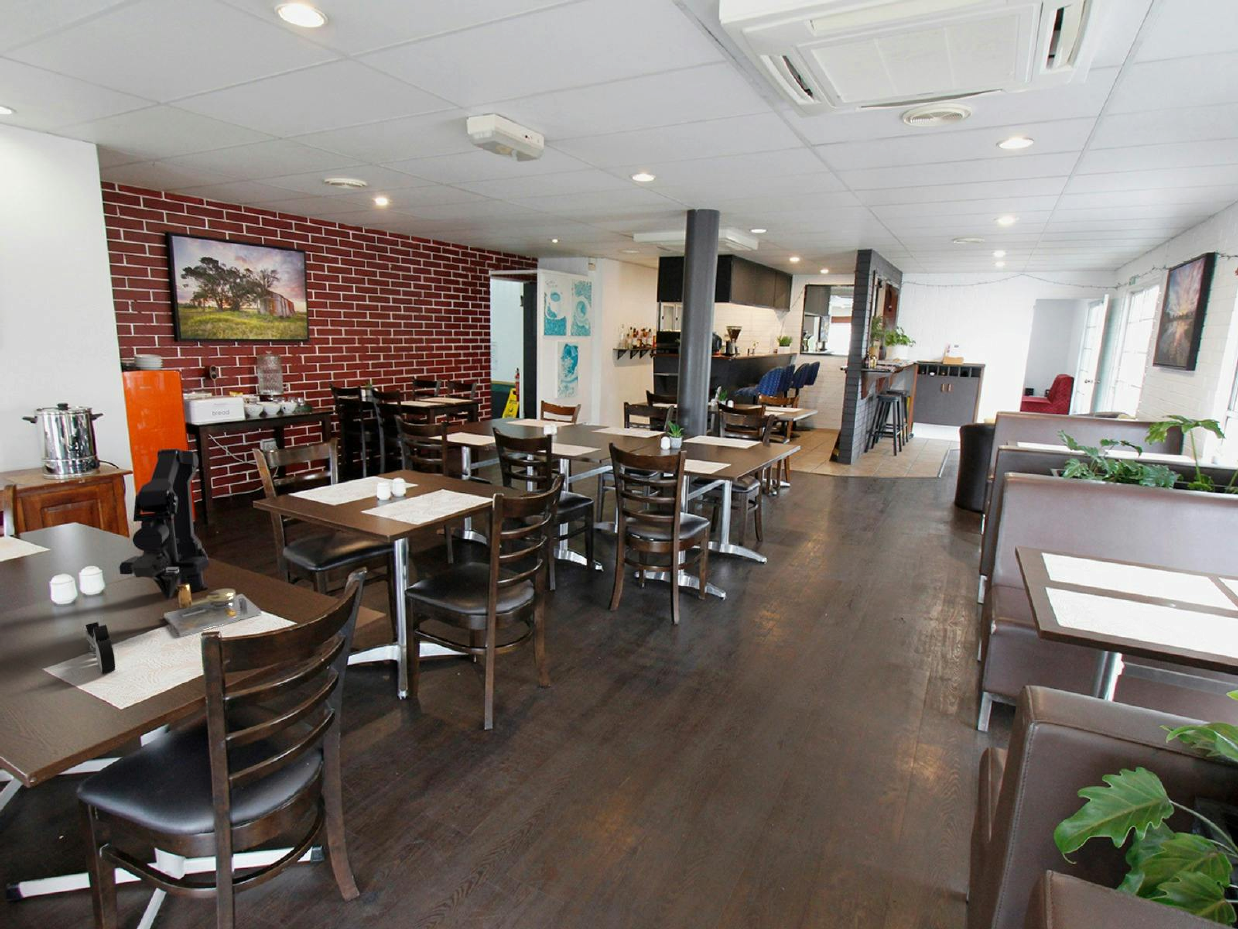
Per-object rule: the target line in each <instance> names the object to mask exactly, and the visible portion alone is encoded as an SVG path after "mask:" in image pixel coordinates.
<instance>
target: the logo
mask: <svg viewBox="0 0 1238 929" xmlns="http://www.w3.org/2000/svg"><path fill="white" fill-rule="evenodd" d="M107 626H108V625H107V624H104V625H103V624H102V625H99V621H95V622H91V623H88V624H85V629H86V630H85V635H86V639H87V642H88V643H89V649H90V651H91V652H92V653H93V655H94V656H95V657H96V662H97V665H98V668H99V670H100V672H101V674H105V673H108V672H112V671H115V670H116V659H115V653H114V648H113V644H112V641H111V639H110V636H109V630H108V627H107Z"/></svg>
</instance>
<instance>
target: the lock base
mask: <svg viewBox="0 0 1238 929" xmlns="http://www.w3.org/2000/svg"><path fill="white" fill-rule="evenodd" d="M259 614H261V615H262V609H260V608H259V607H258V606H257V605H255V604H254V603H253V602H252V601H251V600H250V599H249V598H247V597H246V595H244V594H243V593H240V594H236V596H235V597H234V598H233V599H230V600H228V601H224V602H217V603H212V602H205V603H201V604H197V605H193V606H190V607H186V608H181V609H177V610H173V611H169V612H165V613H163V615H164V619H165V621H167V623H168V624H169V626H171V628H172V627H173V628H172V629H173V630H174V631H175V633H176V634H177V636H179V638H182V636H183V637H186V635H187V636H190V635H193V633H194V634H197V633H200V631H201V632H203V631H206V630H203V629H206V628H209V627H213V626H219V625H222V624H226V623H230V624H233V623H236V622H235V621H237V620H240V619H244V620H247V619H246V618H248V617H251V616H255V617H257V616H256V615H258V616H260V615H259ZM251 618H252V617H251ZM248 619H249V618H248ZM240 621H241V620H240ZM232 622H233V623H232ZM237 622H238V621H237ZM226 625H227V624H226ZM222 626H223V625H222ZM219 627H220V626H219ZM191 633H192V634H191ZM189 634H190V635H189Z"/></svg>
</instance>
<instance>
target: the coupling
mask: <svg viewBox="0 0 1238 929" xmlns="http://www.w3.org/2000/svg"><path fill="white" fill-rule="evenodd" d="M176 587H177V589H178V590H177V589H176V590H177V594H178V604H179V608H181V609H184V608H188V607H192V606H196V605H200V604H204V603H208V602H212V603H217V602H224V601H228V600H230V599H233V598H234V597H235V596H236V595H237V594H236V590H235V589H233V588H221V589H215V590H213V591H210V592H208V593H207V594H206V596H205V597H201V598H196V599H192V592H190V584H187V583H186V584H180V585H179V584H177V585H176Z"/></svg>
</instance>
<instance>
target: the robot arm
mask: <svg viewBox="0 0 1238 929" xmlns="http://www.w3.org/2000/svg"><path fill="white" fill-rule="evenodd" d="M156 454H157V455H156V456H157V457H156V458H157V461H156V464H155V467H154V469H153V472H152V475H151V478H150V480H149V481H148V482H147V483H145V484H142V486H141V487H140V489H139V490H138V493H137V494H136V495H135V498H134V509H133V522H136V523H137V522H141V523H140V527H139V529H138V530H137V531H136V532H135V533H134V534H133V537H132V542H133V546H134V547H135V548H137V549H138V550H140V551H143V553H142V554H141V555H140V556H138V555H137V556H135V555H134V556H132V557H129V558H128V559H126V560H124V561H121V563H119V566H118V571H119V574H120V575H132V574H134V577H135V578H149V579H151V580H153V581H154V582H155V584H156V585H157V586H158V588H159V589H160V590H161V593H162V594H163V596H164V597H165V598H166V599H171V598H172V597H173V595H174V592H175V590H177V591H178V589H177V586H178V585H180V584H186V583H187V584H190V592H191V593H195V592H199V591H203V590H207V589H209V586H207V584H206V583H204V577H203V571H205V570H207V569H208V568H210V567H211V566H210V560H209V559H210V558H209V556H208V554H207V553H206V551H205V548H203V546H202V541H201V540H200V539H199V538H198V536H197V535H196V534H195V529H194V516H193V515H194V514H193V501H192V500H193V499H192V489H191V488H192V487H191V486H192V485H191V481H193V478H194V477H195V475H196V474H197V467H198V466H199V456H198V454H197V453H195V452H193V451H192V450H183V449H179V448H165V449H163V448H162V449H160V450H158V451H157V453H156Z"/></svg>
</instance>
